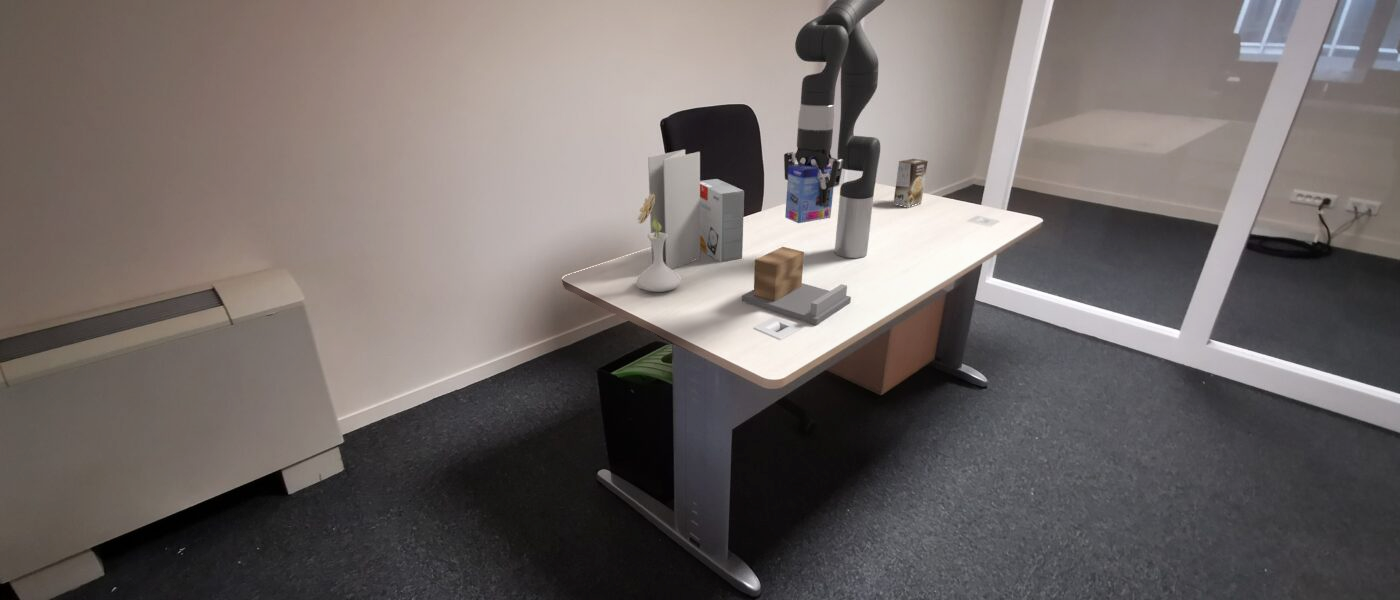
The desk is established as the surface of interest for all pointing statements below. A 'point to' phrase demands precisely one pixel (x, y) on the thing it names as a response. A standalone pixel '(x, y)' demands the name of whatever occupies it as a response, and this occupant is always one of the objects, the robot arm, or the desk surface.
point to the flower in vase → (656, 257)
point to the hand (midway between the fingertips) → (809, 202)
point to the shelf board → (804, 303)
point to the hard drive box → (721, 220)
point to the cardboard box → (778, 273)
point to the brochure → (676, 205)
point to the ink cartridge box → (806, 194)
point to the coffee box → (910, 182)
